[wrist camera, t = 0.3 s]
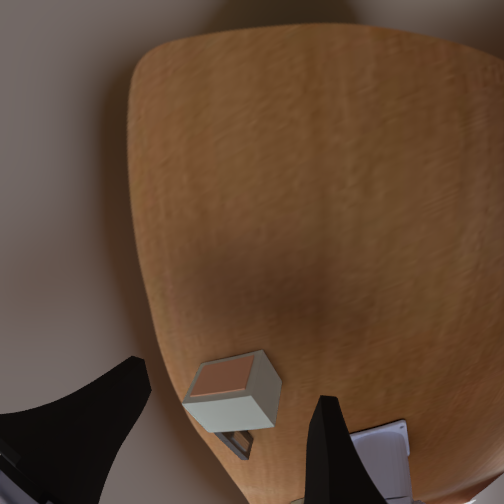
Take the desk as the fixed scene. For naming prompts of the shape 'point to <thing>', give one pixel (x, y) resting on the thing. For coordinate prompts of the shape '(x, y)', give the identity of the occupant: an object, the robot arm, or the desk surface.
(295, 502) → the skincare box
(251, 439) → the price rail
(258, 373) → the carton
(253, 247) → the desk surface
